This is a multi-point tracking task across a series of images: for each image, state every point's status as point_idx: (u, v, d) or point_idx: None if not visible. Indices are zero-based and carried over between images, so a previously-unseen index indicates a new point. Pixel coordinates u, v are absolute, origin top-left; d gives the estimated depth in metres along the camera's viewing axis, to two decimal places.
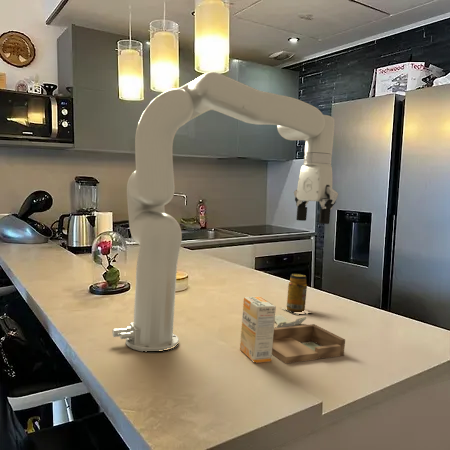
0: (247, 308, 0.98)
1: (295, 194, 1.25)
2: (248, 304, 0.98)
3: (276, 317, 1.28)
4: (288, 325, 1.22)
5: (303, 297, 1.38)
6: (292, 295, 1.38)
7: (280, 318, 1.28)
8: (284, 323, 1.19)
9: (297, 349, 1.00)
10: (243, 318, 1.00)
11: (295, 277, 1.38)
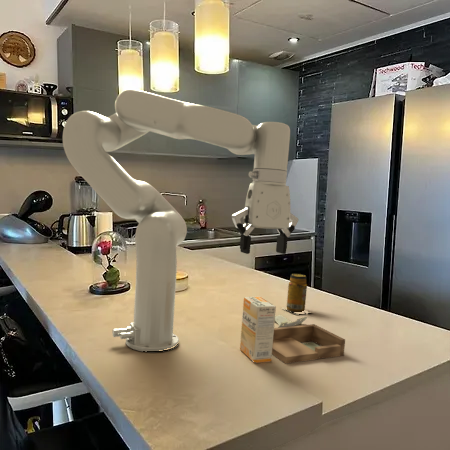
0: (247, 308, 0.98)
1: (237, 219, 0.92)
2: (248, 304, 0.98)
3: (276, 317, 1.27)
4: (289, 325, 1.22)
5: (303, 297, 1.38)
6: (292, 295, 1.38)
7: (280, 318, 1.27)
8: (285, 323, 1.19)
9: (297, 349, 1.00)
10: (243, 318, 1.00)
11: (295, 277, 1.38)
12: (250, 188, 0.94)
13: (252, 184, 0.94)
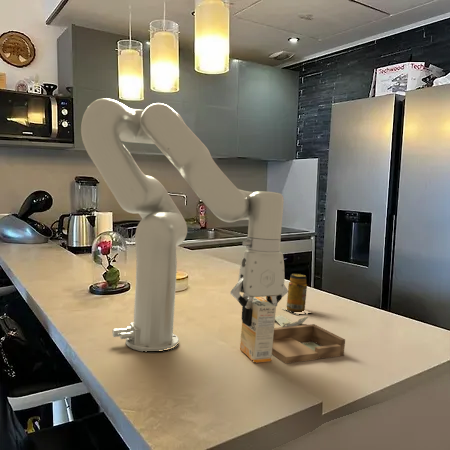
0: None
1: (236, 295, 0.94)
2: None
3: (277, 318, 1.27)
4: (291, 325, 1.21)
5: (303, 297, 1.38)
6: (292, 295, 1.38)
7: (281, 318, 1.27)
8: (288, 324, 1.19)
9: (297, 349, 1.00)
10: None
11: (295, 277, 1.38)
12: (244, 256, 0.95)
13: (246, 253, 0.94)
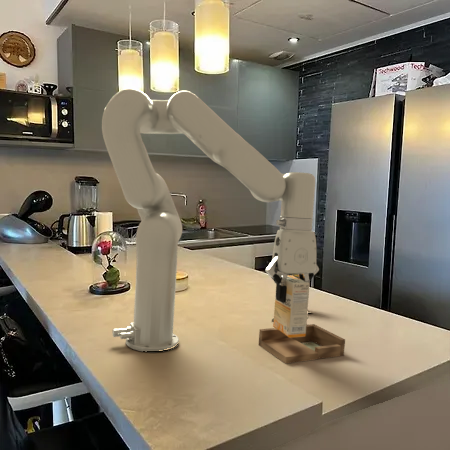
0: None
1: (271, 272, 0.97)
2: None
3: None
4: None
5: None
6: None
7: None
8: None
9: (297, 349, 1.00)
10: None
11: None
12: (278, 235, 0.98)
13: (280, 232, 0.98)
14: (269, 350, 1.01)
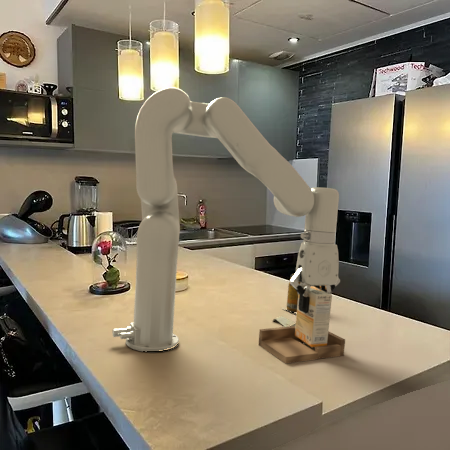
0: None
1: (295, 284, 1.01)
2: None
3: (279, 319, 1.26)
4: None
5: None
6: (292, 295, 1.38)
7: (283, 319, 1.27)
8: (294, 325, 1.18)
9: (297, 349, 1.00)
10: None
11: None
12: (302, 248, 1.02)
13: (304, 245, 1.01)
14: (269, 350, 1.01)
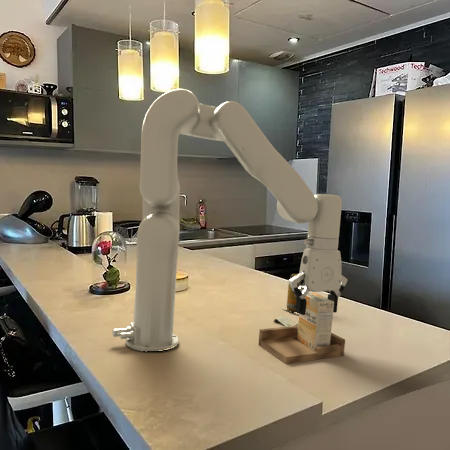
0: (306, 303, 1.05)
1: (294, 284, 1.01)
2: (306, 299, 1.05)
3: (280, 319, 1.26)
4: None
5: None
6: (292, 295, 1.38)
7: (284, 319, 1.26)
8: (296, 325, 1.18)
9: (297, 349, 1.00)
10: None
11: None
12: (305, 254, 1.02)
13: (307, 251, 1.02)
14: (269, 350, 1.01)
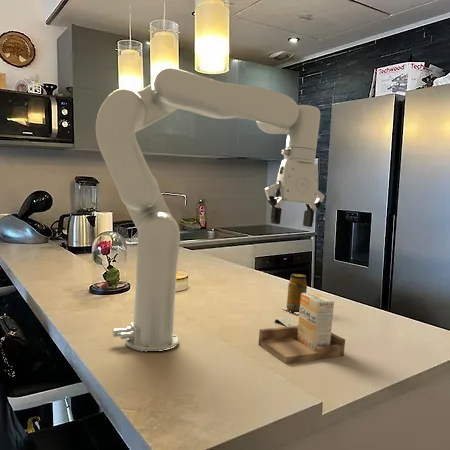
0: (306, 303, 1.05)
1: (269, 192, 1.02)
2: (306, 299, 1.05)
3: (281, 319, 1.26)
4: None
5: None
6: (292, 295, 1.38)
7: (285, 320, 1.26)
8: None
9: (297, 349, 1.00)
10: (301, 312, 1.07)
11: (295, 277, 1.38)
12: (282, 165, 1.03)
13: (284, 161, 1.03)
14: (269, 350, 1.01)
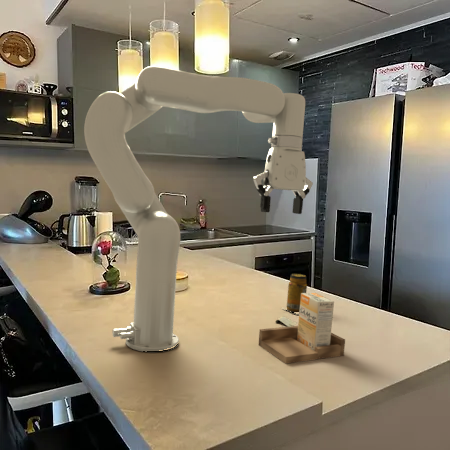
0: (306, 303, 1.05)
1: (258, 181, 1.03)
2: (306, 299, 1.05)
3: (282, 319, 1.26)
4: None
5: None
6: (292, 295, 1.38)
7: (286, 320, 1.26)
8: None
9: (297, 349, 1.00)
10: (301, 312, 1.07)
11: (295, 277, 1.38)
12: (269, 153, 1.04)
13: (271, 149, 1.04)
14: (269, 350, 1.01)
